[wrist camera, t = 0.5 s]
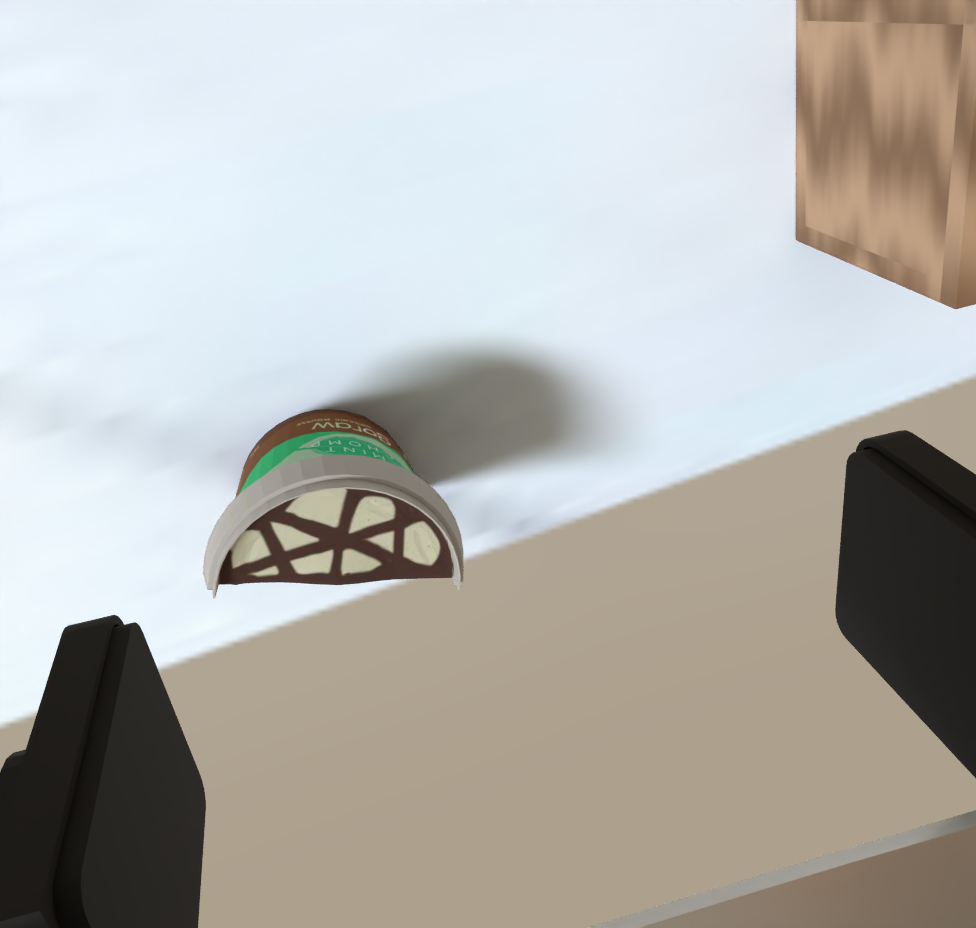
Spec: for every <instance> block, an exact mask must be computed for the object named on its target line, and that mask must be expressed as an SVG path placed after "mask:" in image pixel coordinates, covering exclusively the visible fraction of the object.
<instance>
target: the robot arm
mask: <svg viewBox="0 0 976 928" xmlns="http://www.w3.org/2000/svg"><path fill="white" fill-rule="evenodd" d="M835 611H836V619H837V623H838V625H839V628H840V630H841V632H842V634H843V635H844V636H845V638H846V639H847V640H848V641H849V642H850V643H851V644H852V645H853V646H854V647H855V649H856V650H857V651H858V652H859V653H860V654H861V655H862V656H863V657H864V658H865V659H866V660H867V661H868V662H869V664H870V665H871V666H872V667H873V668H874V669H875V670H876V671H877V672H878V673H879V674H880V675H881V677H882V678H883V679H884V680H885V681H886V682H887V683H888V684H889V685H890V686H891V687H892V688H893V689H894V690H895V692H896V693H897V694H898V695H899V696H900V697H901V698H902V699H903V700H904V701H905V702H906V704H907V705H909V707H910V708H911V709H912V710H913V711H914V712H915V713H916V714H917V715H918V716H919V718H920V719H921V720H922V721H923V722H924V723H925V724H926V725H927V726H928V727H929V728H930V729H931V730H932V731H933V733H934V734H935V735H936V736H937V737H938V738H939V739H940V740H941V741H942V742H943V743H944V744H945V746H946V747H947V748H948V749H949V750H950V751H951V752H952V753H953V754H954V755H955V756H956V757H957V759H958V760H959V761H960V762H961V763H962V764H963V765H964V766H965V767H966V768H967V769H968V770H969V771H970V772H971V774H972V775H973V776H974V777H975V778H976V474H974V473H973V472H971V471H969V470H968V469H966V468H965V467H963V466H962V465H960V464H959V463H957V462H956V461H954V460H953V459H951V458H950V457H948V456H947V455H945V454H944V453H942V452H940V451H939V450H937V449H936V448H934V447H933V446H931V445H930V444H928V443H927V442H925V441H924V440H922V439H921V438H919V437H917V436H916V435H914V434H913V433H911V432H908V431H906V430H904V431H897V432H892V433H888V434H884V435H880V436H875V437H871V438H867V439H864V440H863V441H861V442H860V443H859V445H858V446H857V449H856V452H854V453H852V454H851V455H850V456H849V458H848V460H847V465H846V478H845V492H844V504H843V518H842V530H841V543H840V556H839V569H838V582H837V595H836V610H835ZM205 810H206V801H205V792H204V787H203V783H202V779H201V776H200V774H199V771H198V769H197V766H196V764H195V761H194V759H193V756H192V754H191V751H190V749H189V746H188V744H187V741H186V739H185V736H184V734H183V731H182V729H181V727H180V724H179V721H178V719H177V716H176V714H175V711H174V709H173V706H172V704H171V701H170V699H169V697H168V694H167V691H166V689H165V687H164V684H163V682H162V679H161V677H160V674H159V672H158V669H157V667H156V664H155V662H154V659H153V657H152V654H151V652H150V649H149V647H148V644H147V642H146V639H145V637H144V634H143V632H142V630H141V628H140V626H139V625H138V624H137V623H135V622H134V623H130V624H126V625H124V624H123V622H122V620H121V619H120V618H119V617H118V616H116V615H112V616H108V617H103V618H99V619H95V620H91V621H86V622H82V623H78V624H74V625H69V626H67V627H65V629H64V631H63V633H62V636H61V639H60V642H59V645H58V649H57V652H56V655H55V658H54V661H53V665H52V668H51V671H50V674H49V677H48V681H47V684H46V687H45V690H44V693H43V697H42V700H41V703H40V706H39V709H38V713H37V716H36V719H35V722H34V726H33V729H32V732H31V735H30V738H29V742H28V745H27V748H26V750H23V751H19V752H15V753H13V754H12V755H10V756H9V757H8V758H7V759H6V761H5V763H4V765H3V767H2V769H1V772H0V928H198V917H199V902H200V886H201V872H202V857H203V856H202V855H203V842H204V841H203V840H204V826H205ZM587 928H976V810H975V811H972V812H969V813H965V814H962V815H959V816H955V817H952V818H948V819H945V820H942V821H939V822H935V823H932V824H928V825H925V826H921V827H918V828H915V829H911V830H908V831H905V832H901V833H898V834H895V835H891V836H888V837H884V838H881V839H878V840H875V841H871V842H867V843H864V844H861V845H857V846H854V847H851V848H847V849H844V850H841V851H837V852H834V853H831V854H828V855H824V856H821V857H818V858H814V859H811V860H808V861H804V862H801V863H798V864H794V865H791V866H788V867H784V868H781V869H778V870H775V871H771V872H768V873H765V874H761V875H758V876H755V877H752V878H748V879H745V880H741V881H738V882H735V883H732V884H728V885H725V886H722V887H718V888H715V889H712V890H709V891H705V892H702V893H699V894H696V895H692V896H689V897H686V898H682V899H679V900H676V901H672V902H669V903H666V904H662V905H659V906H656V907H653V908H649V909H646V910H643V911H639V912H636V913H633V914H629V915H626V916H623V917H620V918H616V919H613V920H610V921H607V922H603V923H600V924H597V925H594V926H590V927H587Z"/></svg>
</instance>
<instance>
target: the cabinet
mask: <svg viewBox="0 0 976 928" xmlns="http://www.w3.org/2000/svg"><path fill="white" fill-rule="evenodd" d="M796 240H797V241H799V242H802V243H804V244H806V245H808V246H811V247H813V248H815V249H818V250H820V251H822V252H825V253H827V254H829V255H832V256H834V257H836V258H838V259H841V260H843V261H845V262H848V263H850V264H852V265H855V266H857V267H859V268H862V269H864V270H866V271H868V272H871V273H873V274H875V275H878V276H880V277H882V278H885V279H887V280H889V281H892V282H894V283H896V284H898V285H901V286H903V287H905V288H908V289H910V290H912V291H915V292H917V293H919V294H922V295H924V296H926V297H928V298H931V299H933V300H935V301H938V302H940V303H942V304H945V305H947V306H949V307H952V308H954V309H958V308H962V307H966V306H970V305H974V304H976V0H796Z"/></svg>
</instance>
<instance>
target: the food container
mask: <svg viewBox="0 0 976 928" xmlns="http://www.w3.org/2000/svg"><path fill="white" fill-rule="evenodd" d="M203 575H204V579H205V582H206V586H207V589H208V590H213V598H215V596H216V592H217V589H218V585H219V584H233V585H238V584H243V583H260V582H289V583H307V584H327V585H344V584H356V583H365V582H373V581H381V580H391V579H417V578H452V579H453V581H454V583H455V584H456V586H457V588H458V590H460V583H463V546H462V540H461V534H460V531H459V528H458V526H457V523H456V520H455V518H454V516H453V514H452V512H451V511H450V509H449V507H448V505H447V504H446V502H445V501H444V500H443V499H442V498H441V497H440V495H439V494H438V493H437V492H436V491H435V490H434V489H433V488H432V487H431V486H430V485H428V484H427V483H426V482H425V481H424V480H422V479H421V478H420V477H418V476H416V475H415V473H414V472H413V470H412V468H411V466H410V464H409V463H408V461H407V459H406V457H405V455H404V454H403V452H402V450H401V449H400V448H399V446H398V445H397V444H396V443H395V441H394V440H393V439H392V437H391V436H390V435H389V434H388V432H387V431H386V430H384V429H383V428H381V427H380V426H378V425H376V424H375V423H373V422H372V421H370V420H369V419H367V418H366V417H363V416H360V415H357V414H353V413H350V412H346V411H340V410H316V411H311V412H306V413H302V414H299V415H296V416H294V417H291V418H289V419H287V420H285V421H283V422H281V423H279V424H278V425H276V426H275V427H274V428H272V429H271V430H270V431H268V432H267V433H266V434H265V435H264V436H263V437H262V438H261V439H260V440H259V441H258V442H257V444H256V445H255V447H254V448H253V450H252V451H251V453H250V454H249V456H248V458H247V461H246V463H245V465H244V468H243V472H242V475H241V479H240V483H239V486H238V490H237V494H236V498H235V499H234V500H233V501H232V502H231V503H230V504H229V505H228V507H227V508H226V510H225V511H224V513H223V514H222V515H221V517H220V518H219V520H218V521H217V523H216V525H215V527H214V529H213V531H212V533H211V536H210V538H209V541H208V544H207V548H206V552H205V556H204V566H203Z"/></svg>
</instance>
